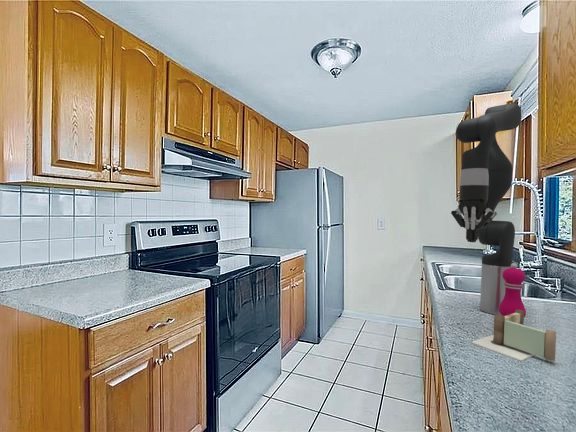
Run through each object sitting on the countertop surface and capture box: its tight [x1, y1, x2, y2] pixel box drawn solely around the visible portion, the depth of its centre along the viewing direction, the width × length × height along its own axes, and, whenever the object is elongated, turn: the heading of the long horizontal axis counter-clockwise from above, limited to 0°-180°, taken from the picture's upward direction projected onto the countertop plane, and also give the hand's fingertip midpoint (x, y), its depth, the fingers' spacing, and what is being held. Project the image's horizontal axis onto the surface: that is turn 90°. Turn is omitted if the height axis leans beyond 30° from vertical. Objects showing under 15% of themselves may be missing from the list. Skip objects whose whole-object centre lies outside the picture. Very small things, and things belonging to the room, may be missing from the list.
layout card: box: [471, 334, 535, 362], centre depth 87 cm, size 16×12×1 cm
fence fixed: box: [493, 310, 525, 345], centre depth 91 cm, size 14×2×8 cm, turn 122°
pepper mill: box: [499, 262, 527, 325], centre depth 104 cm, size 7×7×20 cm
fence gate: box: [504, 321, 557, 362], centre depth 82 cm, size 11×2×7 cm, turn 30°
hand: (471, 241), depth 98 cm, fingers closed
